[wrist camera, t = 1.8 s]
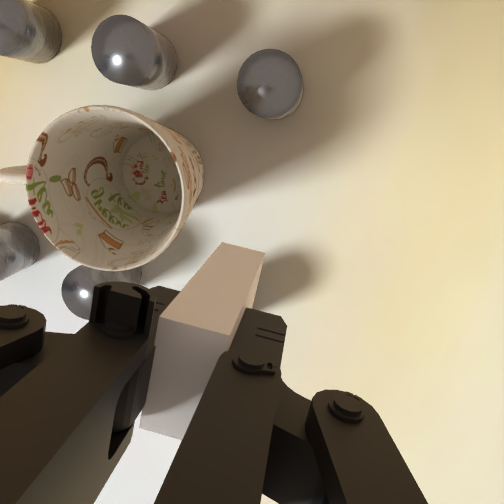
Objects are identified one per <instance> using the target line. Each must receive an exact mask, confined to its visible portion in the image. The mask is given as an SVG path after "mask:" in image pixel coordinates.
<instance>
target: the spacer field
mask: <svg viewBox="0 0 504 504" xmlns="http://www.w3.org/2000/svg"><path fill="white" fill-rule="evenodd" d="M61 39H62V35H61V29H60V26H59V23H58V21H57V20H56V18H55V17H54V15H53V14H52V13H51V12H50V11H48V10H47V9H45V8H43V7H41V6H39V5H36V4H34V3H32V2H30V1H28V0H0V55H1V56H5V57H10V58H14V59H18V60H23V61H27V62H31V63H37V64H40V63H45V62H48V61H50V60H51V59H52V58H54V57H55V55H56V54H57V53H58V51H59V49H60V46H61ZM91 49H92V57H93V60H94V62H95V65H96V67H97V68H98V70H99V71H100V72H101V73H102V74H103V75H104V76H105V77H106V78H107V79H109V80H111V81H113V82H116V83H120V84H124V85H128V86H133V87H137V88H141V89H146V90H157V89H160V88H163V87H164V86H166V85H167V84H168V83H169V82H170V81H171V80H172V78H173V77H174V75H175V72H176V68H177V57H176V53H175V50H174V48H173V46H172V44H171V43H170V42H169V41H168V40H167V39H166V38H165V37H164V36H162V35H160V34H159V33H157V32H156V31H154V30H152V29H151V28H149V27H148V26H146V25H144V24H143V23H141V22H140V21H138V20H136V19H135V18H133V17H130V16H127V15H114V16H111V17H109V18H107V19H105V20H104V21H103V22H102V23H101V24H100V25H99V26H98V27H97V29H96V30H95V33H94V35H93V38H92V45H91ZM237 89H238V94H239V97H240V99H241V101H242V103H243V104H244V106H245V107H246V108H247V109H248V110H249V111H250V112H252V113H253V114H255V115H257V116H260V117H264V118H269V119H281V118H284V117H287V116H288V115H290V114H291V113H293V112H294V111H295V110H296V108H297V107H298V105H299V104H300V102H301V99H302V95H303V84H302V76H301V72H300V69H299V67H298V65H297V64H296V62H295V61H294V60H293V59H292V58H291V57H290V56H289V55H288V54H286V53H284V52H282V51H279V50H275V49H265V50H261V51H258V52H256V53H254V54H253V55H251V56H250V57H249V58H248V59H247V60H246V61H245V62H244V64H243V65H242V67H241V69H240V71H239V74H238V79H237ZM38 255H39V243H38V240H37V238H36V236H35V234H34V233H33V232H32V230H31V229H29V228H28V227H27V226H25V225H23V224H21V223H17V222H9V223H5V224H2V225H0V281H1V280H3V279H5V278H7V277H9V276H11V275H13V274H15V273H17V272H19V271H21V270H23V269H25V268H27V267H29V266H30V265H32V264H33V263H34V262H35V261H36V259H37V257H38ZM140 279H141V268H140V266H139V267H136V268H133V269H128V270H122V271H105V270H98V269H94V268H90V267H87V266H84V265H81V266H79V267H77V268H76V269H74V270H73V271H71V272H70V273H69V274H68V275H67V276H66V277H65V279H64V281H63V284H62V297H63V300H64V302H65V304H66V306H67V307H68V309H69V310H70V311H71V312H72V313H74V314H75V315H77V316H78V317H80V318H83V319H87V320H89V319H90V311H91V304H92V297H93V289H94V286H95V285H98V284H100V283H104V282H111V281H117V282H128V283H134V284H139V282H140Z"/></svg>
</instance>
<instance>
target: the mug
mask: <svg viewBox="0 0 504 504" xmlns="http://www.w3.org/2000/svg"><path fill="white" fill-rule="evenodd" d="M0 182H4V183H9V184H26V190H27V197H28V201H29V205H30V208H31V211H32V214H33V216H34V218H35V220H36V222H37V224H38V226H39V228H40V229H41V231H42V232H43V234H44V235H45V236H46V238H47V239H48V240H49V241H50V242H51V243H52V244H53V245H54V246H55V247H56V248H57V249H58V250H59V251H60V252H62V253H63V254H64V255H65V256H67V257H69V258H70V259H72V260H73V261H75V262H77V263H80V264H82V265H84V266H87V267H90V268H94V269H98V270H105V271H122V270H128V269H133V268H136V267H139V266H142V265H144V264H146V263H148V262H150V261H152V260H153V259H155V258H156V257H158V256H159V255H160V254H161V253H163V252H164V251H165V250H166V249H167V248H168V247H169V246H170V245H171V243H172V242H173V241H174V239H175V238H176V237H177V235H178V233H179V232H180V230H181V228H182V226H183V225H184V223H185V221H186V219H187V217H188V215H189V214H190V212H191V210H192V208H193V206H194V204H195V203H196V201H197V199H198V197H199V195H200V193H201V190H202V187H203V182H204V168H203V164H202V160H201V158H200V155H199V153H198V151H197V150H196V148H195V147H194V146H193V145H192V143H191V142H190V141H189V140H187V139H186V138H185V137H184V136H182V135H181V134H179V133H177V132H175V131H173V130H171V129H169V128H167V127H165V126H163V125H160V124H158V123H156V122H154V121H152V120H150V119H148V118H146V117H144V116H142V115H140V114H138V113H135V112H133V111H130V110H127V109H124V108H120V107H115V106H108V105H92V106H85V107H80V108H77V109H74V110H71V111H69V112H67V113H65V114H63V115H61V116H60V117H58V118H57V119H55V120H54V121H53V122H52V123H50V124H49V125H48V126H47V127H46V128H45V129H44V131H43V132H42V133H41V134H40V136H39V137H38V139H37V141H36V142H35V144H34V146H33V148H32V151H31V154H30V156H29V160H28V164H27V166H16V167H8V168H4V169H0Z"/></svg>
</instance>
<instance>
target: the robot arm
mask: <svg viewBox="0 0 504 504" xmlns="http://www.w3.org/2000/svg"><path fill="white" fill-rule="evenodd" d="M264 257H265V253H263V252H259V251H255V250H251V249H247V248H243V247H239V246H235V245H231V244H227V243H223V242H222V243H221V244H220V246H219V247H218V248H217V249H216V250H215V251H214V253H213V254H212V255H211V256H210V257H209V258H208V260H207V261H206V262H205V263H204V264H203V266H202V267H201V268H200V269H199V270H198V271H197V273H196V274H195V275H194V276H193V277H192V279H191V280H190V281H189V282H188V283H187V284H186V286H185V287H184V288H183V289H182V290H181V291H177V290H173V289H169V288H165V287H162V286H157V287H153V288H150V289H148V288H146V287H143V286H141V285H138V284H134V283H128V282H117V281H111V282H104V283H100V284H98V285H95V286H94V289H93V297H92V304H91V311H90V319H89V322H88V323H87V324H86V325H85V326H84V327H82V328H81V329H80V330H79V331H78V332H77V333H75V334H65V333H54V332H45V328H46V319H45V317H44V315H43V314H42V313H40V312H38V311H37V310H35V309H31V308H28V307H26V306H22V305H19V306H17V305H12V304H11V305H7V306H0V504H94V502H95V500H96V499H97V497H98V495H99V494H100V492H101V490H102V489H103V487H104V485H105V484H106V482H107V480H108V478H109V477H110V475H111V473H112V472H113V470H114V468H115V467H116V465H117V463H118V462H119V460H120V458H121V457H122V455H123V453H124V452H125V450H126V448H127V447H128V445H129V443H130V441H131V437H132V433H133V428H134V422H135V419H136V418H137V416H138V415H139V413H140V412H141V410H142V414H141V420H140V425H139V428H142V429H145V430H149V431H152V432H156V433H159V434H163V435H166V436H170V437H173V438H177V439H180V440H182V442H181V444H180V446H179V448H178V451H177V453H176V455H175V457H174V460H173V462H172V464H171V466H170V469H169V471H168V473H167V475H166V478H165V480H164V482H163V484H162V487H161V489H160V491H159V493H158V496H157V498H156V500H155V502H154V504H260V501H261V495H262V494H264V495H265V496H267V497H269V498H271V499H272V500H274V501H276V502H277V503H279V504H428V503H427V501H426V499H425V497H424V495H423V494H422V492H421V490H420V488H419V486H418V485H417V483H416V481H415V479H414V477H413V476H412V474H411V472H410V470H409V468H408V466H407V465H406V463H405V461H404V459H403V457H402V456H401V454H400V452H399V450H398V448H397V447H396V445H395V443H394V441H393V439H392V438H391V436H390V434H389V432H388V430H387V429H386V427H385V425H384V423H383V421H382V419H381V418H380V416H379V414H378V413H377V412H376V411H375V409H374V408H373V407H372V406H371V405H370V404H368V403H367V402H365V401H364V400H363V399H362V398H360V397H358V396H356V395H353V394H352V393H349V392H343V391H339V390H323V391H320V392H317V393H316V394H315V395H314V397H313V398H312V401H311V400H308V399H306V398H304V397H302V396H301V395H299V394H297V393H295V392H294V391H293V390H291V389H290V388H289V387H287V385H286V384H285V383H284V382H283V381H282V379H281V370H280V365H281V359H282V353H283V347H284V341H285V335H286V329H287V325H286V324H285V322H284V320H283V319H282V317H281V316H277V315H273V314H270V313H266V312H262V311H258V310H254V309H252V307H253V303H254V298H255V294H256V290H257V286H258V282H259V278H260V273H261V269H262V265H263V261H264ZM142 408H143V409H142Z"/></svg>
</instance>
